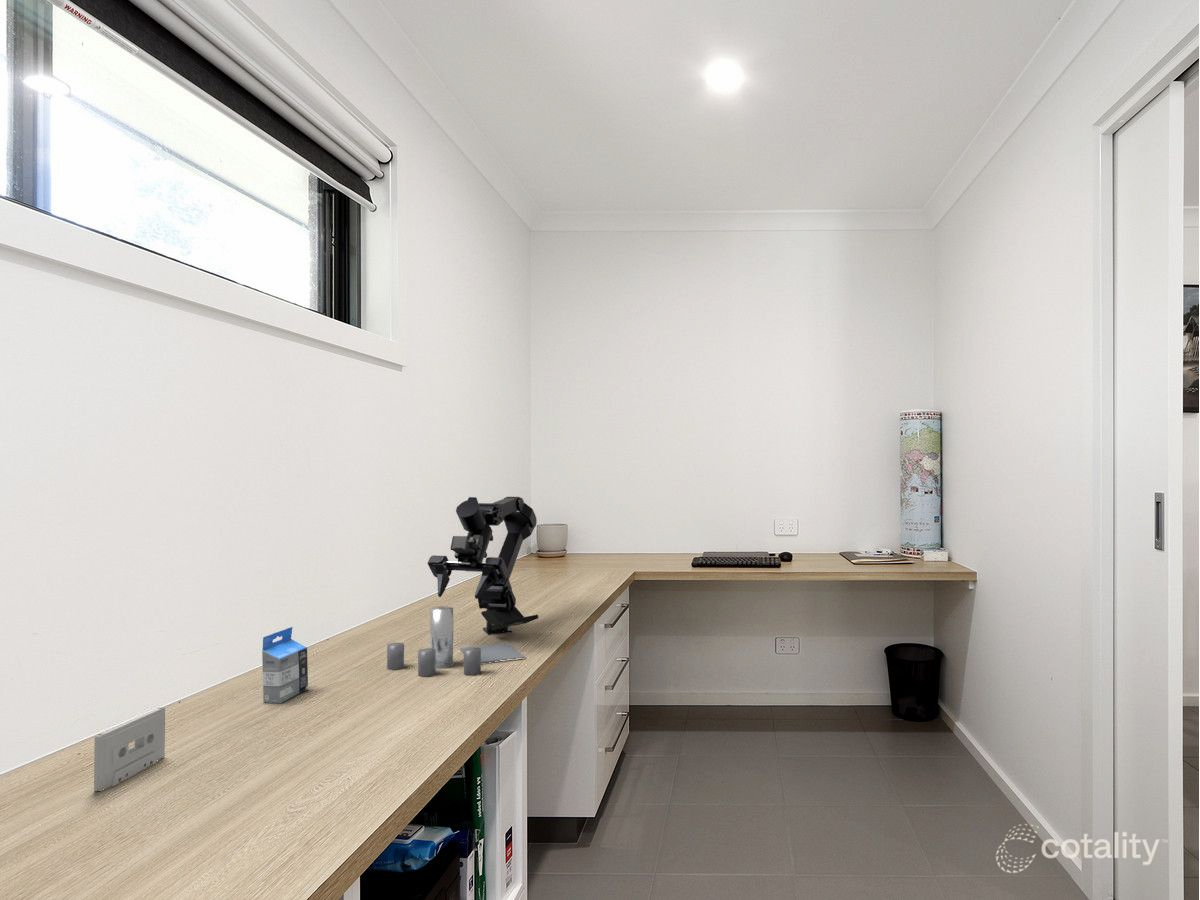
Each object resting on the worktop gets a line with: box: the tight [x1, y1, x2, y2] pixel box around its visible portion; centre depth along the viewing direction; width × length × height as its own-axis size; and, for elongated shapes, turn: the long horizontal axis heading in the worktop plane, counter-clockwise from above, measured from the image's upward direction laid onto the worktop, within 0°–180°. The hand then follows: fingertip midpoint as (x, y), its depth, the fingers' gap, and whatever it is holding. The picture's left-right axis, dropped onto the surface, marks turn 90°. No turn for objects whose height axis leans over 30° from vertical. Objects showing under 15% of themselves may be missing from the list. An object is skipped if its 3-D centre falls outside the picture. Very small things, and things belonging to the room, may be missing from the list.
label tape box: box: [261, 626, 309, 704], centre depth 139 cm, size 9×4×12 cm, turn 168°
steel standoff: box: [429, 605, 454, 670], centre depth 160 cm, size 5×5×12 cm
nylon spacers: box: [386, 642, 482, 678], centre depth 154 cm, size 7×22×5 cm, turn 77°
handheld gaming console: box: [480, 606, 539, 630], centre depth 186 cm, size 11×10×4 cm
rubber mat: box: [459, 642, 526, 665], centre depth 168 cm, size 14×12×1 cm
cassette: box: [93, 707, 166, 792], centre depth 104 cm, size 12×2×8 cm, turn 171°
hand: (457, 596), depth 168 cm, fingers open, 9 cm apart
